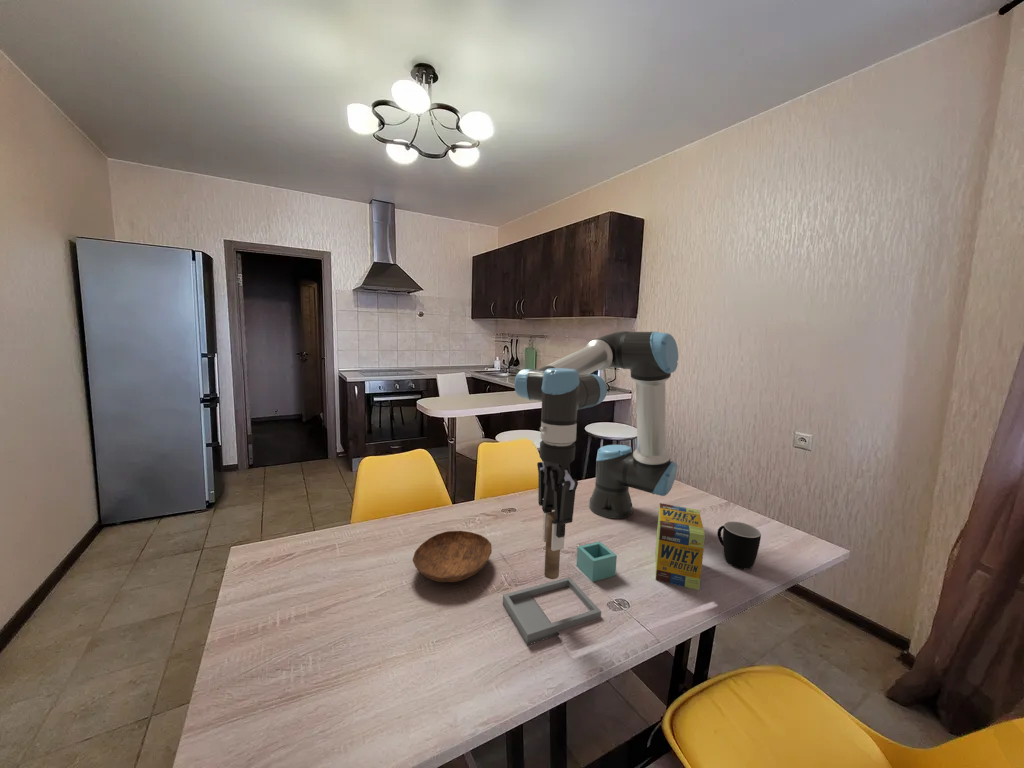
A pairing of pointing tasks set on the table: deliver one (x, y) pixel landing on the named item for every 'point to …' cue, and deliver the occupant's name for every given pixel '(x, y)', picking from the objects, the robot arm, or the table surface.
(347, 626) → the table surface
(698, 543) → the protein box
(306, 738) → the table surface
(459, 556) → the bowl
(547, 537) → the dowel
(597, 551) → the teal square container
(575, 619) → the tray
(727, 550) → the mug
